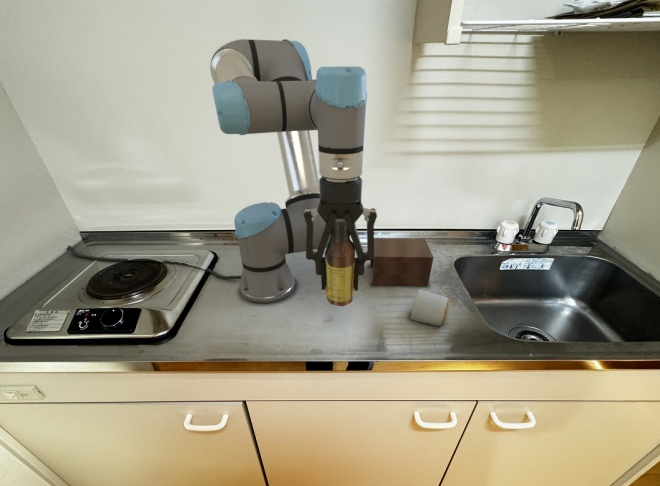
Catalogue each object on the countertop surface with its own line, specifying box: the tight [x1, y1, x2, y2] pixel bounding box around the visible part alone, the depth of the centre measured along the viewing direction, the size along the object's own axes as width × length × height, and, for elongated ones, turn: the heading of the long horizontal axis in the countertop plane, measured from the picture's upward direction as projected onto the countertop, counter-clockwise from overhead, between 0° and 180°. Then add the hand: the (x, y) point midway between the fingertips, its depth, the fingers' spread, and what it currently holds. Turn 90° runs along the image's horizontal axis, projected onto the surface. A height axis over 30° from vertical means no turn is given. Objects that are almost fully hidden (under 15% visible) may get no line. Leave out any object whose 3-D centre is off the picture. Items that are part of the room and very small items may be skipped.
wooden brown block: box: [369, 237, 435, 287], centre depth 93 cm, size 16×12×10 cm
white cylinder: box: [409, 289, 451, 327], centre depth 78 cm, size 11×8×8 cm
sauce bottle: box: [324, 218, 356, 307], centre depth 65 cm, size 6×6×20 cm
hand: (339, 286), depth 68 cm, fingers closed on sauce bottle, 6 cm apart
